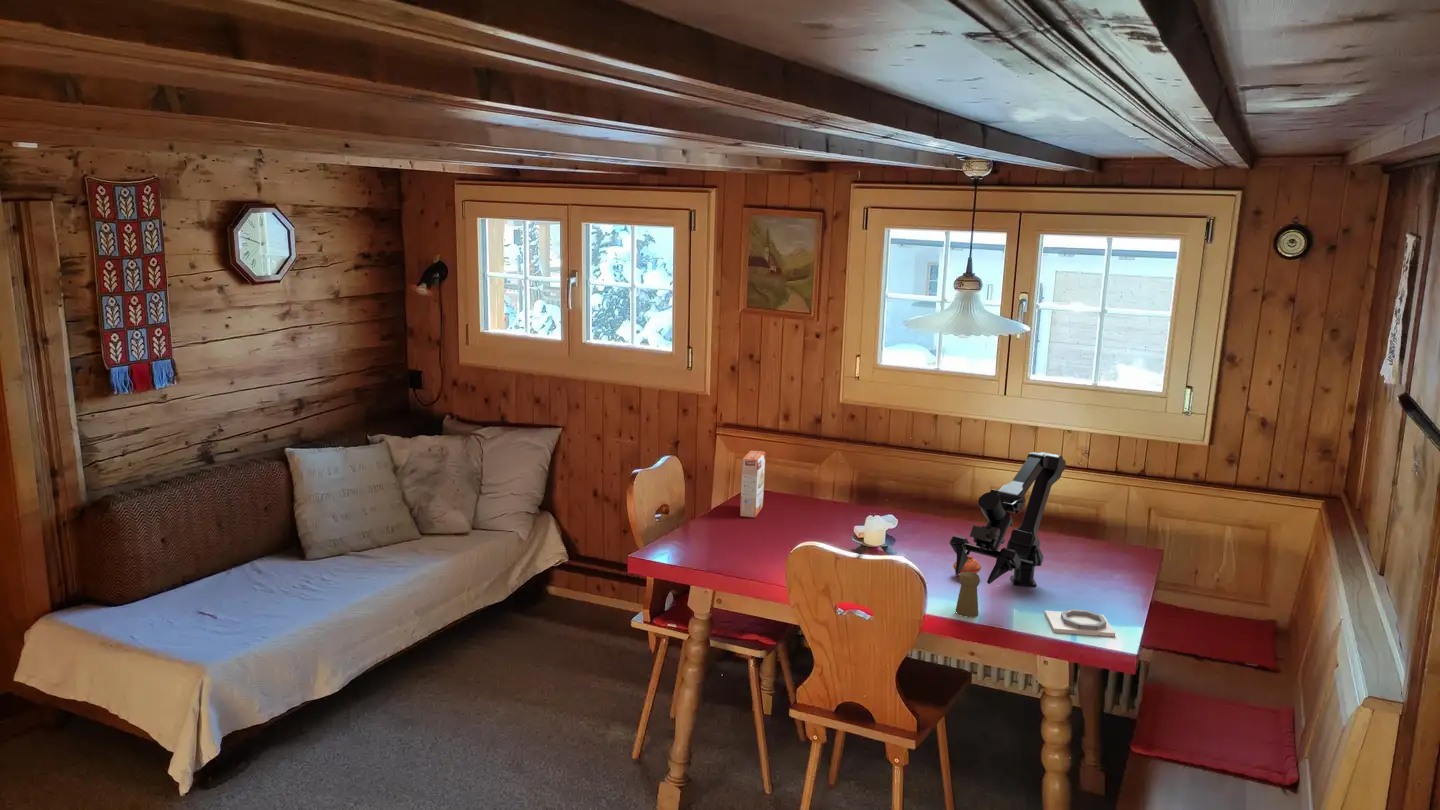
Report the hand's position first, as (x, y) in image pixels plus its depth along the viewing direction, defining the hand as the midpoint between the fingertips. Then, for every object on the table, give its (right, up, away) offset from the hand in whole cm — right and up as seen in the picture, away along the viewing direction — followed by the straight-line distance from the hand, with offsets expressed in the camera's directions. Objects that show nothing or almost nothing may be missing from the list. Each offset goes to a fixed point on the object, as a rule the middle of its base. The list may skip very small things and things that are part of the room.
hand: (972, 578), depth 262 cm
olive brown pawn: (-1, -9, +1) cm, 9 cm away
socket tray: (+26, -11, -6) cm, 29 cm away
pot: (+5, -5, +28) cm, 28 cm away
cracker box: (-56, +8, +86) cm, 103 cm away
